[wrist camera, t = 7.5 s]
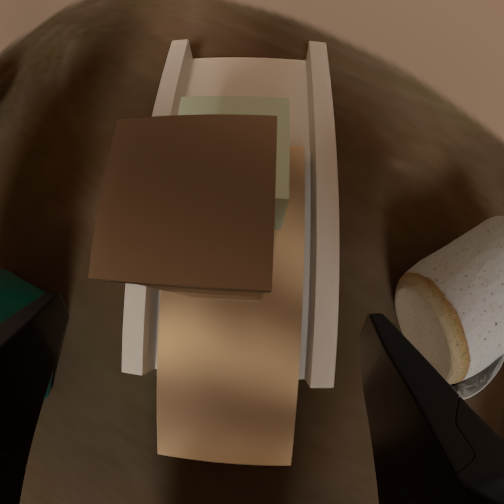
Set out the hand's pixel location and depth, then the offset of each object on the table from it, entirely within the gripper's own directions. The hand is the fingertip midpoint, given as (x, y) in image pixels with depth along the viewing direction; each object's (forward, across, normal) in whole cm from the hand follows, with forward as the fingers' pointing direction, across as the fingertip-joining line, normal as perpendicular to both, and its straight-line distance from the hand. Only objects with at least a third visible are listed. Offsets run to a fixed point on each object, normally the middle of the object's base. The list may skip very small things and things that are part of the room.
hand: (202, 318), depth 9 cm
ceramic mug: (+8, -15, +8) cm, 18 cm away
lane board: (+13, 0, +2) cm, 13 cm away
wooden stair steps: (+7, 0, +6) cm, 9 cm away
